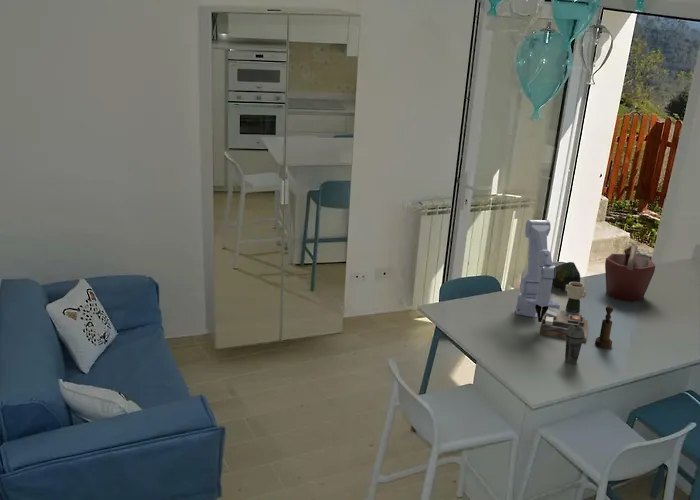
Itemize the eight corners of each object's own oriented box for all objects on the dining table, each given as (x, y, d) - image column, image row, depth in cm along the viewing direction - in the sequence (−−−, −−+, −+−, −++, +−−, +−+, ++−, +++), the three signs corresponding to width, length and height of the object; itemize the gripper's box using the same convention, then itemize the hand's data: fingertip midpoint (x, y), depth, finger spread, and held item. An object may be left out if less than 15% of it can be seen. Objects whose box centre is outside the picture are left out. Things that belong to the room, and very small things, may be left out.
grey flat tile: (544, 314, 310) (545, 312, 310) (545, 311, 313) (546, 309, 313) (555, 318, 309) (556, 316, 308) (556, 315, 312) (557, 313, 312)
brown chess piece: (611, 343, 292) (618, 304, 286) (611, 350, 286) (618, 310, 280) (594, 340, 294) (601, 301, 288) (594, 347, 288) (601, 307, 282)
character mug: (587, 312, 323) (591, 286, 319) (578, 315, 319) (582, 289, 314) (567, 304, 331) (571, 279, 327) (558, 307, 327) (562, 282, 322)
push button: (571, 321, 306) (571, 318, 306) (571, 318, 310) (572, 315, 309) (580, 323, 305) (581, 320, 304) (580, 320, 308) (581, 316, 308)
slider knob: (544, 327, 299) (545, 320, 297) (545, 323, 303) (546, 316, 302) (551, 329, 298) (552, 321, 296) (552, 324, 302) (553, 317, 301)
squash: (540, 275, 352) (560, 260, 342) (555, 270, 362) (576, 255, 352) (555, 299, 347) (577, 284, 337) (570, 293, 357) (592, 278, 347)
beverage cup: (558, 357, 278) (565, 311, 272) (576, 357, 279) (583, 311, 272) (565, 365, 271) (572, 319, 265) (583, 365, 272) (591, 319, 265)
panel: (539, 333, 298) (541, 325, 297) (543, 316, 316) (545, 308, 315) (585, 342, 292) (587, 333, 291) (587, 324, 310) (588, 315, 309)
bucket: (610, 283, 361) (618, 238, 353) (654, 294, 348) (663, 247, 341) (595, 297, 342) (603, 249, 334) (642, 309, 330) (651, 259, 322)
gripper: (525, 292, 295) (521, 321, 300) (560, 298, 291) (556, 327, 295) (527, 287, 302) (523, 315, 306) (561, 292, 297) (557, 321, 301)
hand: (539, 321), depth 301 cm, fingers closed
